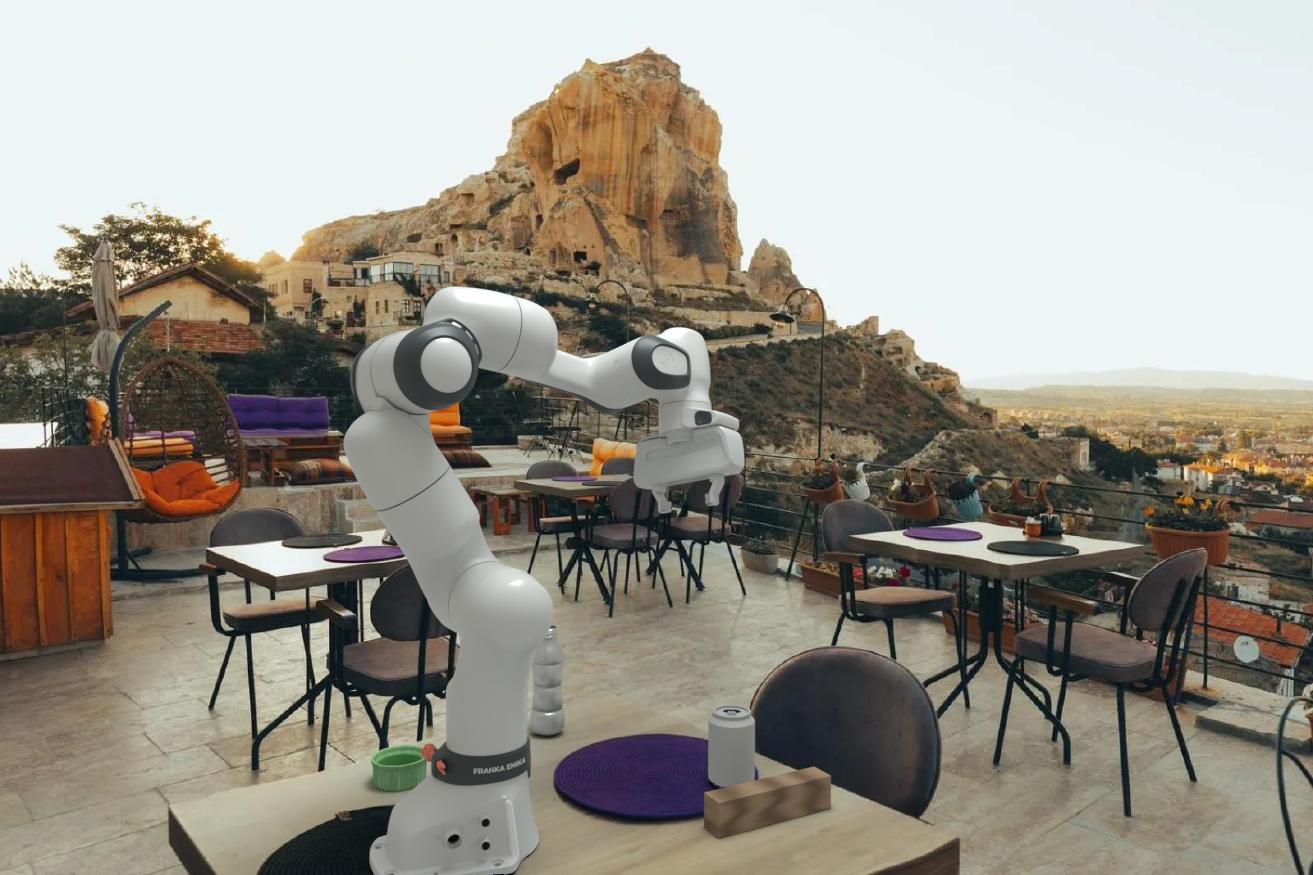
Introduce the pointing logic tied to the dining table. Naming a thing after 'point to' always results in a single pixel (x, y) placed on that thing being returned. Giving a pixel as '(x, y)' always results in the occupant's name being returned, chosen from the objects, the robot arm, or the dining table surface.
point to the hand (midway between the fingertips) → (688, 509)
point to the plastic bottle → (548, 686)
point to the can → (731, 745)
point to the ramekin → (398, 768)
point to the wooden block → (766, 801)
